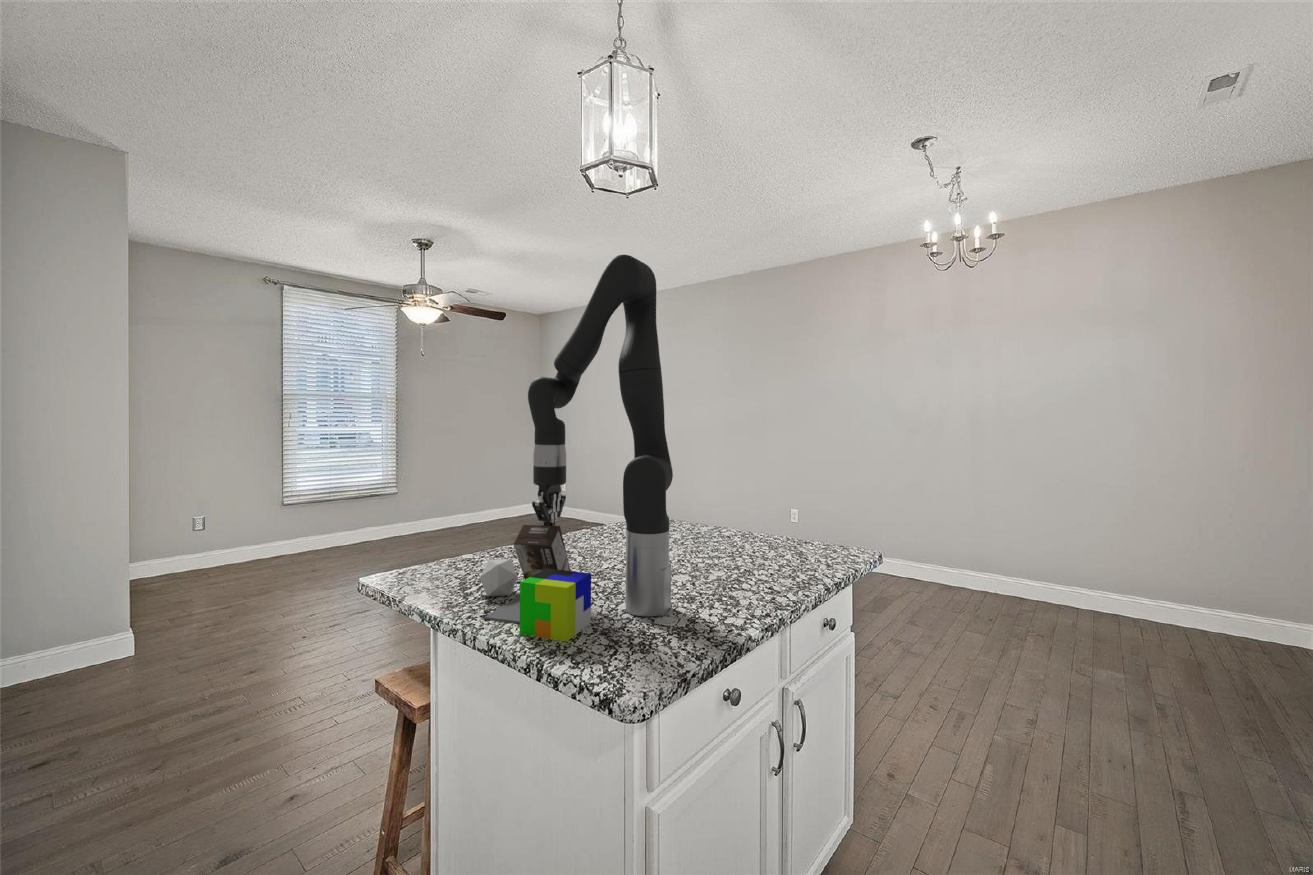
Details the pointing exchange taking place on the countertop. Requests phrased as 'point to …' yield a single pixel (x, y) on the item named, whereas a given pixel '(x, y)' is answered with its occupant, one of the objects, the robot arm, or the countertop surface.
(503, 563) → the die
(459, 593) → the countertop surface
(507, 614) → the mat
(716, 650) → the countertop surface
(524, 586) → the puzzle toy
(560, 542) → the coffee box
